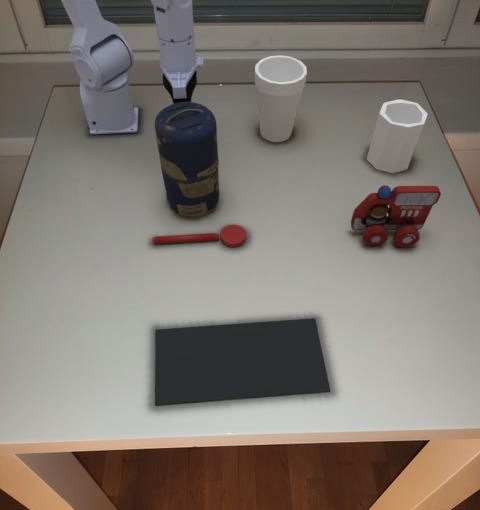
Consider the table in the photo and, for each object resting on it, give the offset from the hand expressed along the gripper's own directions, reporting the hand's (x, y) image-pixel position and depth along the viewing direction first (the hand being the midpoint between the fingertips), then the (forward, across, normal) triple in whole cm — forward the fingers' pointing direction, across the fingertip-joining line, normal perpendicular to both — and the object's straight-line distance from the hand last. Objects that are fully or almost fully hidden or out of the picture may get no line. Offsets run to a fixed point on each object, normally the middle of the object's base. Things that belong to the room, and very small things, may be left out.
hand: (183, 113), depth 85 cm
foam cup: (+9, +6, -18) cm, 21 cm away
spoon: (+9, -22, -2) cm, 24 cm away
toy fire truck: (+9, -23, -33) cm, 41 cm away
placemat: (+9, -46, -6) cm, 47 cm away
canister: (+9, -13, -1) cm, 16 cm away
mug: (+9, -2, -39) cm, 40 cm away
